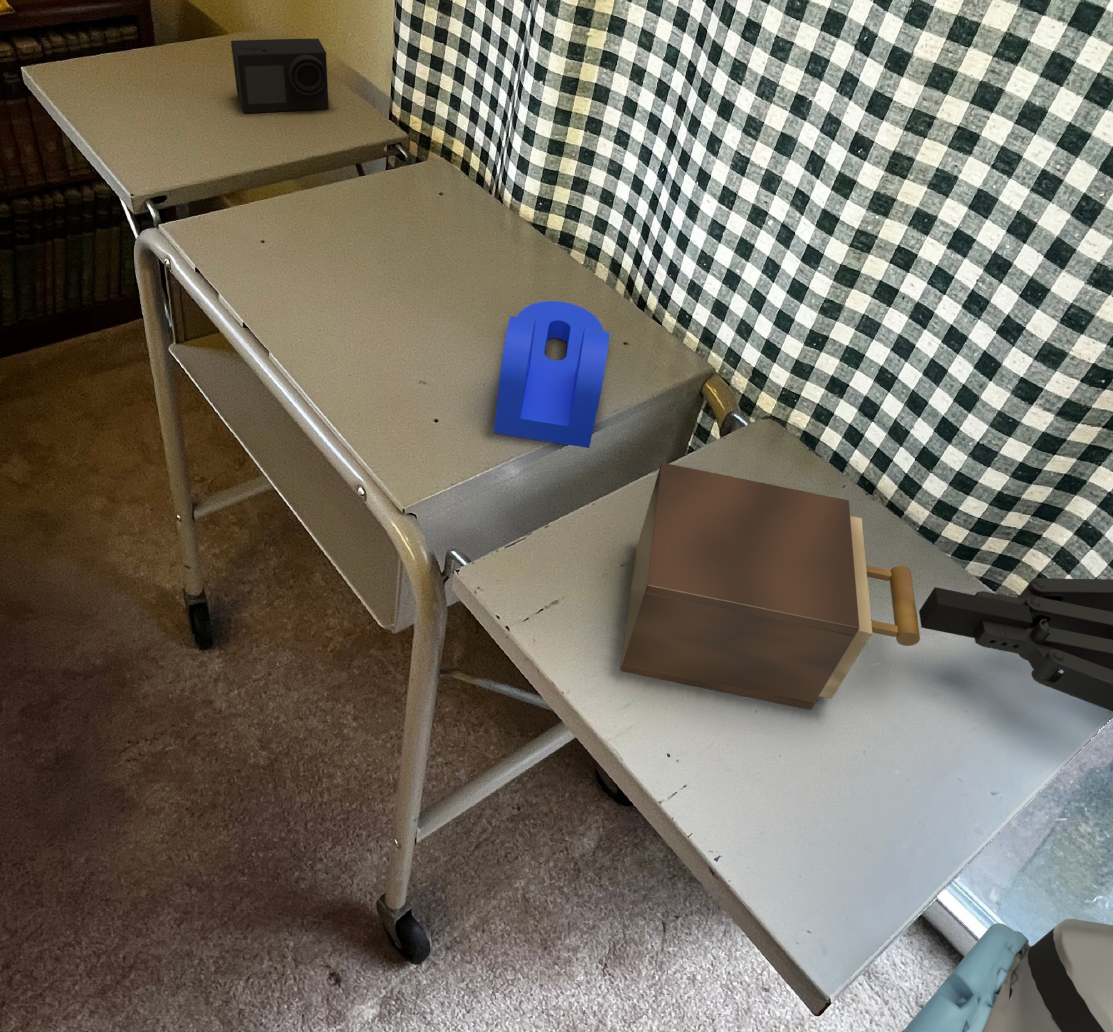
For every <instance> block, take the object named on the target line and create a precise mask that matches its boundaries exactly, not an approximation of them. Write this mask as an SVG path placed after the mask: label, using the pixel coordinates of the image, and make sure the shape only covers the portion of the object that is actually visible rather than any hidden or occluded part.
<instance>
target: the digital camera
mask: <svg viewBox="0 0 1113 1032" xmlns="http://www.w3.org/2000/svg"><path fill="white" fill-rule="evenodd" d="M230 45H231V46H230V47H231V54H232V63H233V70H234V71H233V72H234V77H235V78H234V80H235V87H236V94H237V99H238V103H239V105H240V107H241V110H242V112H243V113H244V114H253V113H275V112H276V113H277V112H294V111H295V112H296V111H297V112H298V111H312V110H328V109H329V107H330V106H329V105H330V104H329V85H328V65H327V64H328V62H327V51H326V49H325V48H324V46H323V44H322V42H321V41H320V38H278V39H277V38H274V39H270V38H269V39H241V40H239V39H237V40H230Z"/></svg>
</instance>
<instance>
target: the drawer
mask: <svg viewBox="0 0 1113 1032" xmlns="http://www.w3.org/2000/svg"><path fill="white" fill-rule="evenodd" d="M850 520H851V532H852V544H853V556H854V568H855V580H856V593H857V605H858V617H859V630H858V632H857V634H856V635H855V637H854V639H853V640H852V642H851V644H850V645H849V647H848V649H847V650H846V652H845V654H844V655H843V657H842V659H841V660H840V662H839V663H838V665H837V667H836V668H835V670H834V672H833V673H832V675H831V677H830V678H829V680H828V682H827V683H826V685H825V687H824V688H823V690H822V692H821V693H820V695H819V697H820V698H824V699H830V700H832V699H833V697H834V696H835V695H836V693H837V692H838V689H839V687H841V685H842V683H843V681H844V680H845V679H846V677H847V675H848V674H849V672H850V670H851V668H852V667H853V665H854V664H855V662H856V661H857V659H858V657H859V656H860V654H861V653H862V651H863V650H864V648H865V646H866V645H867V644H868V641H869V640H870V639H871V636H872V635H873V634H877V635H883V636H887V637H892V638H895V639H896V642H897V643H898V644H899V645H901V646H904V647H912V646H915V645H917V644H918V643H919V642H920V640H921V635H920V634H921V633H920V627H919V620H918V614H917V613H918V612H917V606H916V599H915V598H916V597H915V592H914V585H913V577H912V571H911V569H910V568H908V566H904V565H897V566H894V567H892V568H891V569H886V568H881V567H878V566H871V565H867V561H866V560H867V559H866V550H865V549H866V548H865V539H864V530H863V528H864V527H863V519H862V517H860V516H859V517H858V516H852V515H850ZM868 578H871V579H876V580H881V581H887V582H889V588H890V595H891V606H892V613H893V620H894V621H893V622H894V624H891V623H887V622H882V621H877V620H873V619H872V614H871V603H870V594H869V593H870V591H869V582H868V581H869V580H868ZM819 697H818V698H819Z"/></svg>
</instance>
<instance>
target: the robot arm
mask: <svg viewBox="0 0 1113 1032" xmlns="http://www.w3.org/2000/svg"><path fill="white" fill-rule="evenodd" d="M918 613H919V620H920V628H921V629H927V630H932V631H936V632H941V633H946V634H951V635H956V636H961V637H965V638H966V637H967V638H971V639H974V643H975V644H976V645H978V646H981V647H982V648H987V649H993V650H998V651H1002V652H1007V653H1012V654H1017V655H1018V656H1019V657H1020V658H1021V659H1023V660H1025V661H1027V662H1028V663H1029V664H1030V666H1031V668H1032V671H1031V673H1030V675H1031V678H1032V679H1033V681H1035V682H1036V683H1038V684H1040V685H1043V686H1045V687H1047V688H1051V689H1053V690H1056V691H1058V692H1061V693H1063V694H1066V695H1069V696H1071V697H1073V698H1077V699H1079V700H1081V701H1083V702H1087V703H1090V704H1092V705H1094V706H1097V707H1100V708H1103V709H1105V710H1107V711H1110V712H1112V713H1113V579H1112V578H1111V579H1109V578H1108V579H1107V578H1105V579H1104V578H1103V579H1102V578H1048V577H1047V578H1046V577H1045V578H1043V577H1035V578H1032V579H1031V580H1030V581H1029V583H1028V584H1027V585H1026V586H1025V588H1024V589H1023V591H1022V592H1021V593H1020V594H1019V596H1018V597H1015V596H1011V595H1005V594H1001V593H995V592H990V591H985V590H980V591H977V592H976V593H975V594H972V593H967V592H961V591H956V590H951V589H946V588H941V587H936V586H935V587H934V588H933V589H932V590H931V592H930V593H929V595H928V597H926V600H925V601H924V602H923V604H922V606H921V607H920V609H919V610H918ZM1060 670H1061V671H1062V672H1060ZM1029 940H1030V939H1028V938H1027V936H1026V935H1025V934H1024V933H1023V932H1021V931H1019V930H1014V929H1013V928H1011V927H1010V926H1008V925H1006V924H1004V923H999V922H997V923H994V924H991V925H990V926H989V927H988V928H987V930H986V931H985V932H984V933H983V934H982V936H980V938H979V939H978V940H977V941H976V943H975V944H974V945H973V946H972V947H971V949H970V950H969V951H968V952H967V953H966V954H965V956H964V957H963V958H962V959H961V961H960V962H959V963H958V964H957V966H955V968H954V969H953V970H952V971H951V973H950V974H949V975H948V976H947V978H946V979H945V980H944V982H942V984H941V985H940V986H939V988H938V989H937V990H936V991H935V992H934V993H933V995H932V996H931V997H930V999H928V1001H927V1002H925V1004H924V1005H923V1006H922V1007H921V1009H920V1010H919V1011H918V1012H917V1013H916V1015H914V1017H913V1018H912V1019H911V1020H910V1022H909V1023H908V1024H907V1026H905V1028H904V1029H903V1030H902V1032H1113V924H1107V923H1102V922H1095V921H1089V920H1083V919H1078V918H1077V919H1076V918H1065V919H1064V920H1062V921H1060V922H1059V923H1058V924H1057V925H1055V926H1054V927H1053V928H1051V930H1049V931H1048V932H1047V933H1046V934H1045V935H1043V936H1042V937H1041V938H1039V940H1037V942H1036V943H1034V944H1033V945H1030V944H1029V942H1030V941H1029Z"/></svg>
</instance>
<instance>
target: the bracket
mask: <svg viewBox="0 0 1113 1032" xmlns="http://www.w3.org/2000/svg"><path fill="white" fill-rule="evenodd" d="M551 339H559V340H562V341H564V342H565V343H566V345H567V346H566V347H567V348H566V354H565V357H564V358H562V359H559V360H555V359H551V358H549V357H547V355H546V353H545V352H546V347H547V346H546V345H547V342H548V341H549V340H551ZM609 342H610V331H607V330H604V328H603V326H602V324H601V322H600V320H599V319H598V318H597V316H596V315H594V314H593V313H592V312H590V311H589V310H587V309H586V308H584V307H581V306H579V305H577V304H573V303H570V302H564V301H558V300H548V301H547V300H546V301H540V302H535V303H532V304H530V305H528V306H526V307H524V308H523V309H522V310H520V311H519V313H517V315H510V316H509V319H508V325H507V329H506V334H505V339H504V346H503V350H502V358H501V365H500V373H499V379H498V380H499V381H498V391H497V400H496V409H495V419H494V429H493V433H494V434H498V435H505V436H511V437H517V438H522V439H529V440H534V441H535V440H536V441H542V442H549V443H555V444H561V445H566V446H574V447H580V448H586V449H590V448H591V447H590V446H591V442H592V438H593V432H594V428H595V423H596V422H595V421H596V417H597V414H598V409H599V403H600V400H601V399H600V398H601V393H602V389H603V383H604V376H605V371H606V365H607V359H608V351H609Z"/></svg>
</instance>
